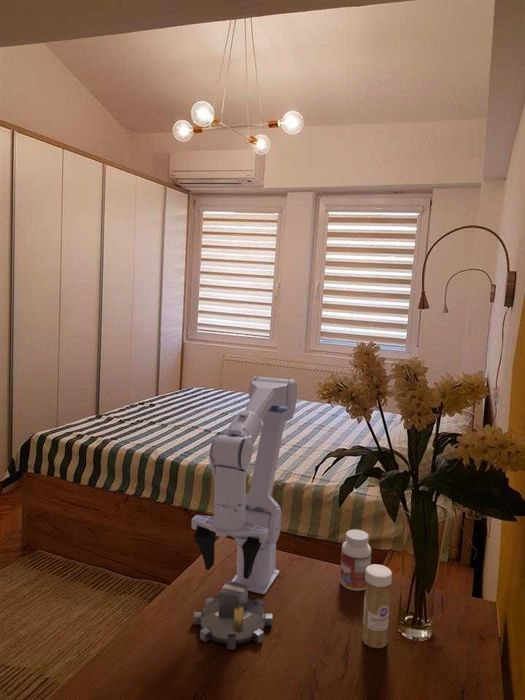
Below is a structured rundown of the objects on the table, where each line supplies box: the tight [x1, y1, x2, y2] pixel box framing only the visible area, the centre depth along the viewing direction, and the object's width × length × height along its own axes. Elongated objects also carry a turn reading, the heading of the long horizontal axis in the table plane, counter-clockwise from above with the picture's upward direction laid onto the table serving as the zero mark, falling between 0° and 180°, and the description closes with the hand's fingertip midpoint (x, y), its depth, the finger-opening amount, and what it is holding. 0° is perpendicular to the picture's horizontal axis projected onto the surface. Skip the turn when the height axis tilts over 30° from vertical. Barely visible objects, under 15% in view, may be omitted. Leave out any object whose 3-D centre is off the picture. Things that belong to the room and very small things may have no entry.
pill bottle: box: [339, 529, 372, 592], centre depth 112 cm, size 6×6×11 cm
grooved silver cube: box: [218, 580, 249, 622], centre depth 97 cm, size 4×4×5 cm
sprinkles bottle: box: [361, 563, 393, 649], centre depth 93 cm, size 5×5×14 cm
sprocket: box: [193, 596, 273, 650], centre depth 97 cm, size 14×14×6 cm
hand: (228, 571), depth 97 cm, fingers open, 7 cm apart
